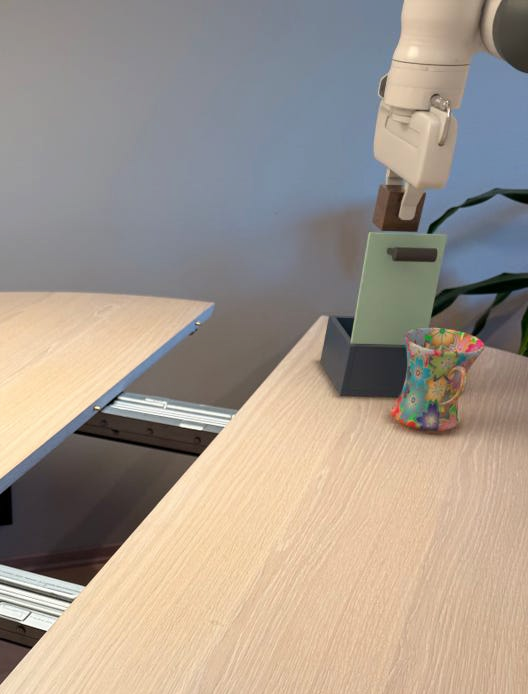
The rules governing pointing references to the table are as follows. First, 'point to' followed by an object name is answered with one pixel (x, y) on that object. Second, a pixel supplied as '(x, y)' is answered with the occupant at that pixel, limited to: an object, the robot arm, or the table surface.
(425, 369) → the mug
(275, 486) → the table surface
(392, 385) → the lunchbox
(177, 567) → the table surface
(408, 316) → the lid
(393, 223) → the block
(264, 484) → the table surface
